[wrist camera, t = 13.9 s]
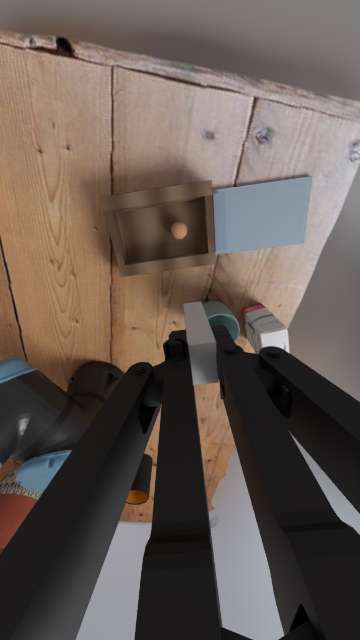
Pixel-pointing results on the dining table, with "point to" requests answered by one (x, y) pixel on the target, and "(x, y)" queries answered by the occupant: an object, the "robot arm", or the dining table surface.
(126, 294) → the dining table surface
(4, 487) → the planter
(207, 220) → the box
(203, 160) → the dining table surface
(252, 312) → the ink box
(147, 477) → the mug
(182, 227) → the ball
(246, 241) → the lid
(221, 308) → the cup
